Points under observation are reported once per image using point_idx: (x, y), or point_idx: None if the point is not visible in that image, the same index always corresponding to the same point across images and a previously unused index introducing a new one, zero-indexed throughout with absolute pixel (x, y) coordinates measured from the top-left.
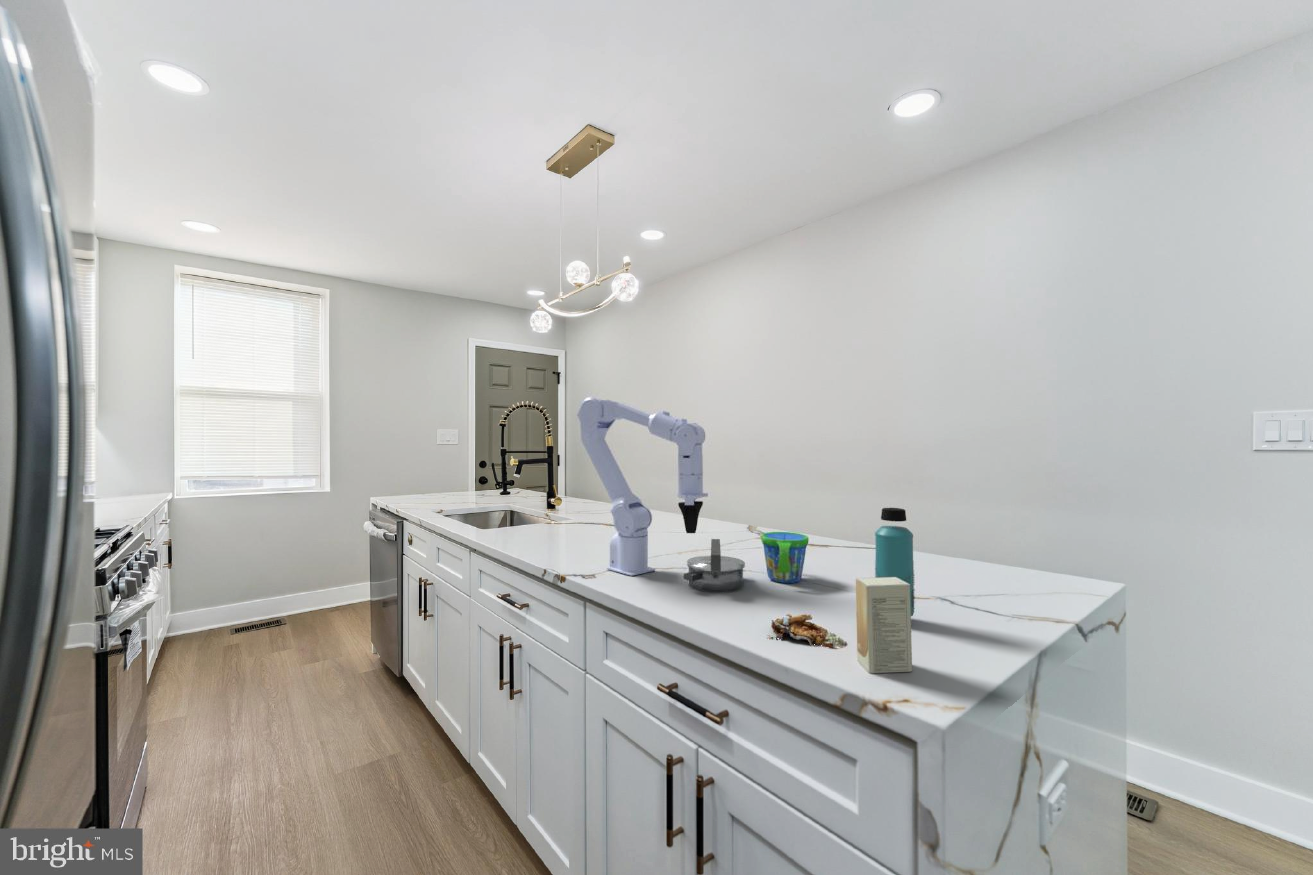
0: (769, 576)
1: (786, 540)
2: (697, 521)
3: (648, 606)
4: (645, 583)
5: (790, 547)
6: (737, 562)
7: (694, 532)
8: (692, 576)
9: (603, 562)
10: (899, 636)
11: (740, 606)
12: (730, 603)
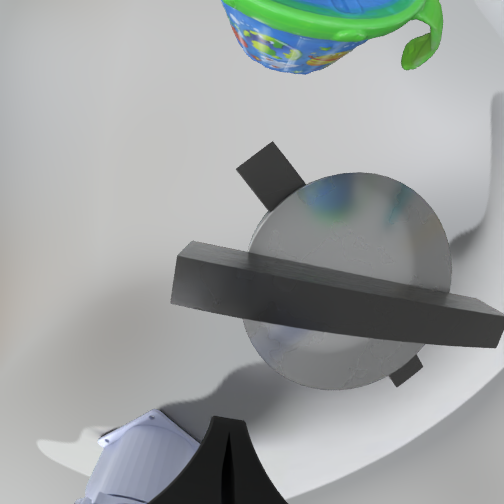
0: (302, 72)
1: None
2: (223, 456)
3: (439, 414)
4: (284, 435)
5: None
6: (383, 205)
7: (245, 426)
8: (421, 364)
9: (91, 470)
10: None
11: (494, 247)
12: (477, 264)
